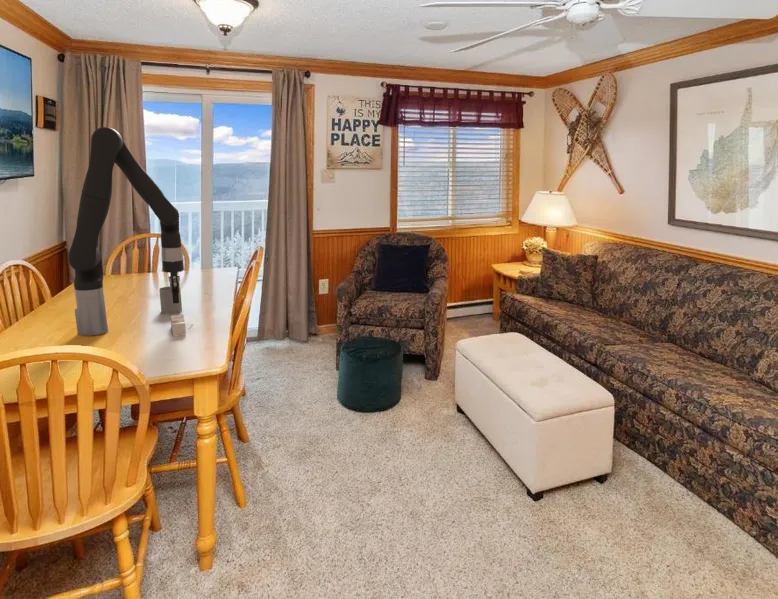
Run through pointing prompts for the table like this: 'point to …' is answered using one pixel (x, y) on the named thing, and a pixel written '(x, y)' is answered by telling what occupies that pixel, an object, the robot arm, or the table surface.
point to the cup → (169, 301)
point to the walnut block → (178, 325)
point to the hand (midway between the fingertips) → (176, 302)
